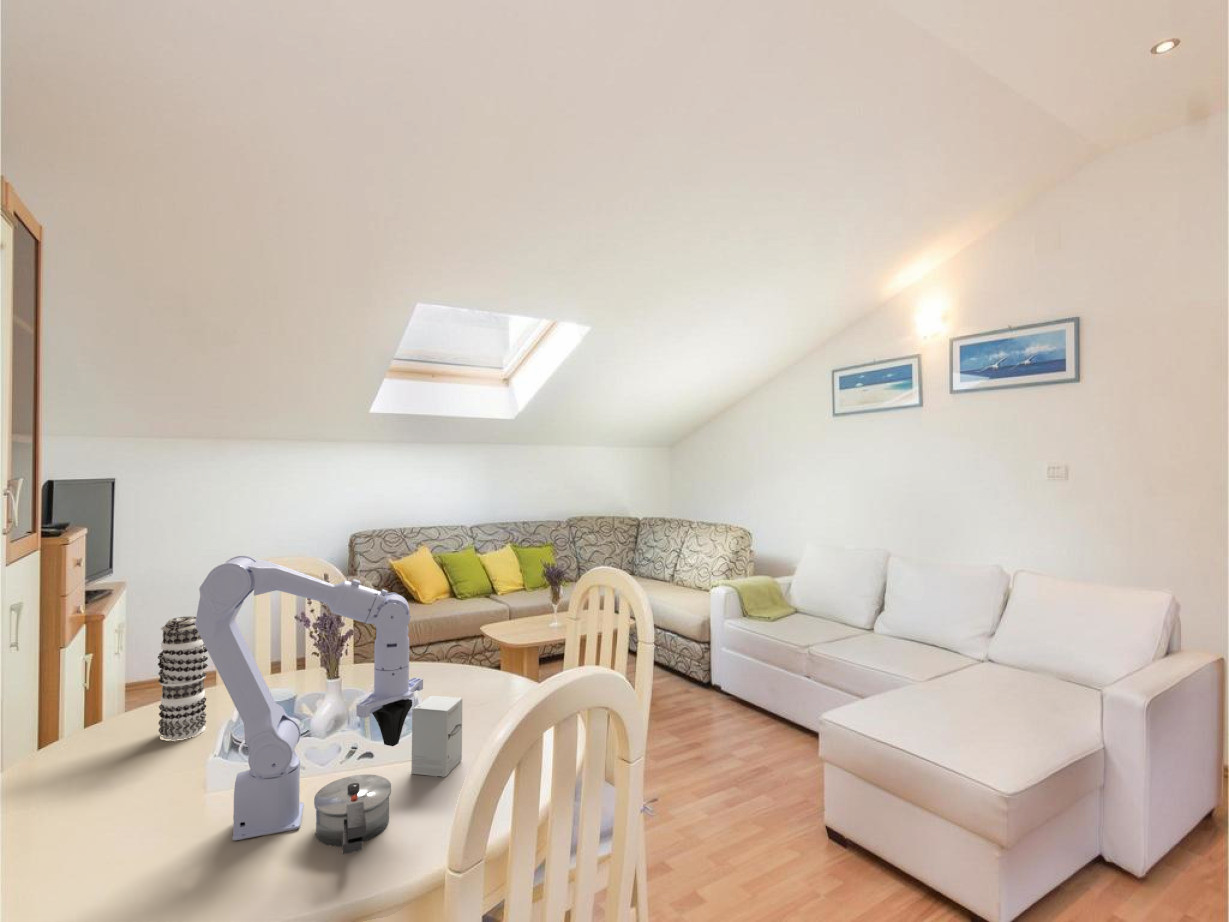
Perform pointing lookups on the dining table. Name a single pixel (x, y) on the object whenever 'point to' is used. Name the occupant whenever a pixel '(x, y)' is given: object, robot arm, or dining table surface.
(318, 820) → the pot
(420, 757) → the supplement box
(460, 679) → the dining table surface
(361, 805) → the lid
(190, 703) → the decorative candle
